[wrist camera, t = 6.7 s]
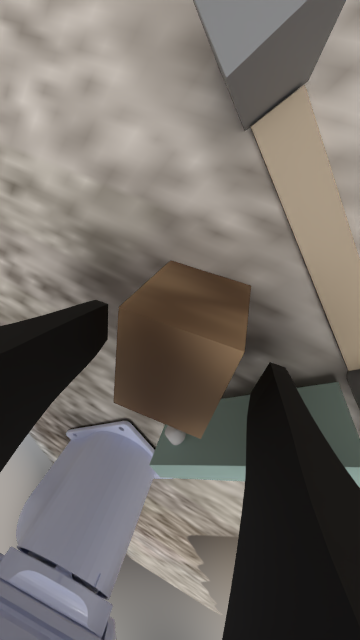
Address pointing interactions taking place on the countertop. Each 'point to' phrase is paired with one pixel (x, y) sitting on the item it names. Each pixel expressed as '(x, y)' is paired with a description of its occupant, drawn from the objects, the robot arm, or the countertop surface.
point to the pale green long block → (230, 438)
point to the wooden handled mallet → (293, 139)
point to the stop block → (180, 345)
